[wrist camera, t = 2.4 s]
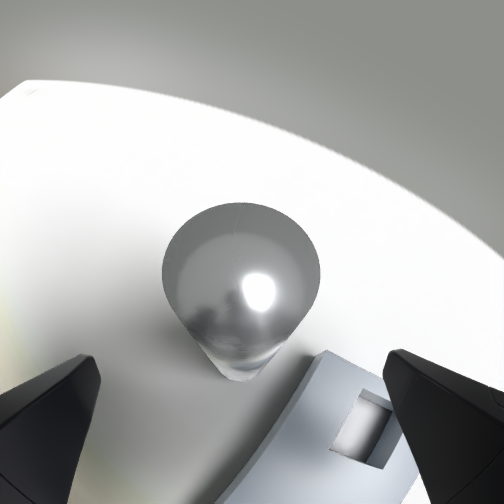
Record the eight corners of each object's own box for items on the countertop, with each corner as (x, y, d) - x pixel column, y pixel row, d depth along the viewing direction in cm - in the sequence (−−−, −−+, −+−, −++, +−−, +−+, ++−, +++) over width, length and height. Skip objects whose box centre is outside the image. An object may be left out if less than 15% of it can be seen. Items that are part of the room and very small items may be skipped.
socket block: (309, 578, 7) (316, 594, 4) (181, 536, 9) (174, 552, 7) (426, 411, 14) (447, 409, 12) (315, 356, 16) (326, 349, 14)
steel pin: (247, 390, 15) (269, 378, 4) (206, 364, 16) (131, 284, 5) (273, 350, 16) (342, 245, 5) (232, 326, 17) (222, 183, 6)
